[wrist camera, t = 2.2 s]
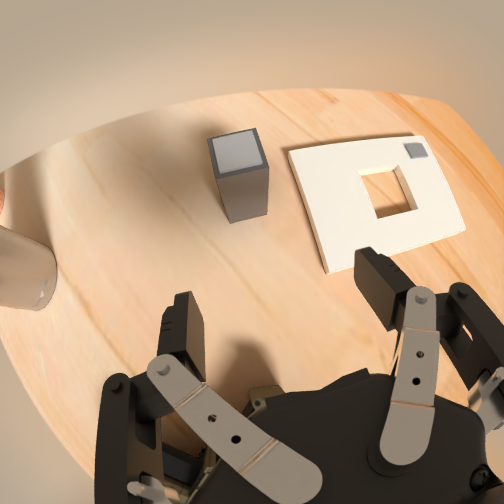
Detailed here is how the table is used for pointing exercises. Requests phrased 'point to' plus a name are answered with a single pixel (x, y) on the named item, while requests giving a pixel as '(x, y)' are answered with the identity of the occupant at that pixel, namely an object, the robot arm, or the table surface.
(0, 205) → the pepper shaker
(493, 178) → the table surface
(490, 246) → the table surface
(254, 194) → the grey rectangular peg
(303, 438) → the robot arm
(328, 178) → the plate
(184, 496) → the futuristic firearm
